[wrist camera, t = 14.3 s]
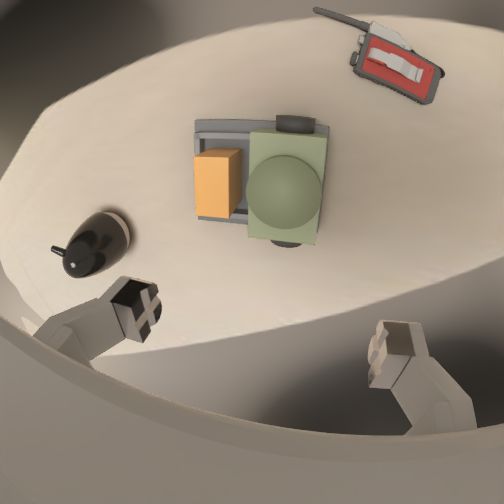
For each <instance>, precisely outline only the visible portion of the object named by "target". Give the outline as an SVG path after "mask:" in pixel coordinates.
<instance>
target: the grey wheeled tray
mask: <svg viewBox="0 0 504 504" xmlns="http://www.w3.org/2000/svg"><path fill="white" fill-rule="evenodd" d="M328 134H329V126H322V125H315V118H310V117H302V116H290V115H276V121H261V120H195V133H194V152H195V156H196V155H198V154H200V153H202V152H204V151H206V150H208V149H210V148H212V147H221V148H242V200H241V202H240V203H239V205H238V206H237V208H236V209H235V210H234V212H233V213H232V215H231V216H230V218H229V219H228V218H218V217H208V216H198V220H208V221H218V222H228V223H238V224H247V225H248V237H252V238H260V239H269V240H271V242H272V243H274V244H275V245H277V246H281V247H286V248H292V247H298V246H300V245H301V244H310V245H315V239H316V233H318V225H319V218H320V210H321V202H322V194H323V185H324V176H325V167H326V157H327V146H328Z"/></svg>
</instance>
